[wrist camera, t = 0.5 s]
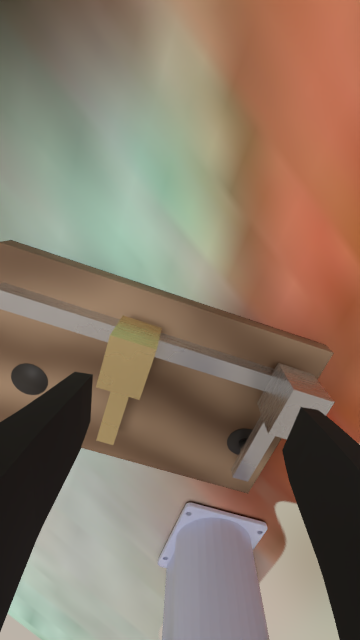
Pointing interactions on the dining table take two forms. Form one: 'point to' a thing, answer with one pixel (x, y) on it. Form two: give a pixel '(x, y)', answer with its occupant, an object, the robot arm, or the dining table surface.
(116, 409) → the block
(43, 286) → the slide rail board
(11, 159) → the dining table surface
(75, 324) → the trammel
